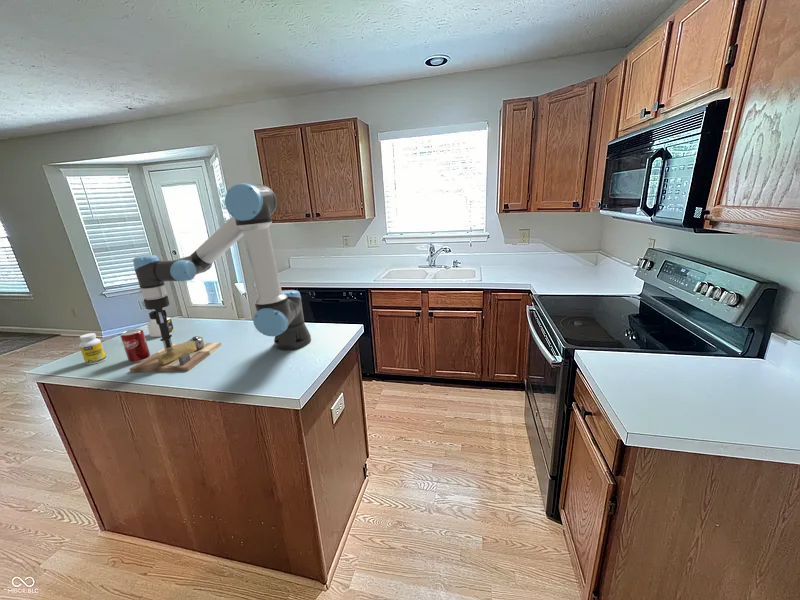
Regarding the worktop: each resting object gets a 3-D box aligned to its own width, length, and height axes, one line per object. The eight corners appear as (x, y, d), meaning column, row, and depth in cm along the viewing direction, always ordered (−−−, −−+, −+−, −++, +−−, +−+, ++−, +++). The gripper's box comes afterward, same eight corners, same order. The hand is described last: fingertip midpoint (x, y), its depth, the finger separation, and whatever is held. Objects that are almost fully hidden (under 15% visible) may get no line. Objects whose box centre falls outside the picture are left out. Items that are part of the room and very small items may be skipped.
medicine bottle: (164, 336, 159) (158, 313, 156) (150, 337, 159) (143, 313, 156) (174, 330, 166) (168, 308, 163) (160, 331, 166) (154, 308, 163)
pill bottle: (83, 366, 132) (73, 339, 129) (89, 360, 138) (79, 334, 134) (104, 362, 135) (95, 336, 132) (108, 356, 141) (100, 330, 137)
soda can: (139, 363, 132) (130, 335, 129) (124, 362, 134) (115, 335, 130) (155, 355, 139) (147, 328, 135) (141, 354, 140) (132, 328, 137)
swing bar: (199, 345, 142) (196, 334, 140) (206, 346, 140) (203, 335, 139) (157, 363, 127) (154, 352, 125) (165, 365, 125) (161, 353, 124)
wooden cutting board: (221, 345, 145) (219, 336, 144) (188, 370, 124) (185, 359, 123) (171, 347, 146) (169, 337, 145) (130, 372, 125) (127, 361, 124)
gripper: (142, 295, 127) (157, 351, 134) (143, 302, 118) (160, 362, 125) (165, 291, 132) (179, 346, 139) (168, 298, 122) (183, 356, 129)
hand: (170, 354), depth 132 cm, fingers closed
